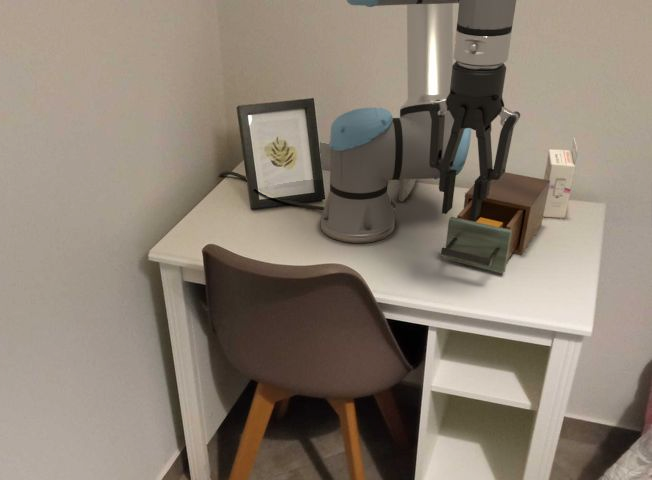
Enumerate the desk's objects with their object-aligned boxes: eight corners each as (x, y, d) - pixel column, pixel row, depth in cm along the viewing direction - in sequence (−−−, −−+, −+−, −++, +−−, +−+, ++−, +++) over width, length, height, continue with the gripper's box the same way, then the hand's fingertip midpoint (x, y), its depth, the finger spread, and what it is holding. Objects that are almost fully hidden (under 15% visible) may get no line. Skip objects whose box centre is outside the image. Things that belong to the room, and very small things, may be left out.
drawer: (492, 289, 125) (499, 247, 120) (431, 273, 130) (436, 232, 125) (523, 244, 138) (530, 205, 133) (467, 231, 142) (472, 193, 137)
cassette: (404, 202, 156) (407, 169, 151) (396, 201, 157) (398, 168, 152) (417, 181, 165) (419, 149, 160) (409, 180, 166) (411, 148, 161)
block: (477, 240, 137) (480, 217, 134) (499, 246, 135) (503, 222, 132) (468, 250, 134) (471, 226, 131) (490, 256, 132) (494, 232, 129)
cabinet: (521, 255, 136) (530, 207, 130) (459, 240, 141) (465, 193, 135) (541, 226, 146) (550, 180, 140) (481, 214, 151) (488, 168, 145)
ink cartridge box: (538, 199, 156) (550, 134, 147) (561, 201, 155) (575, 135, 146) (540, 217, 149) (554, 149, 140) (565, 218, 148) (580, 150, 139)
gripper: (413, 61, 101) (402, 211, 115) (532, 77, 94) (505, 235, 108) (433, 49, 106) (420, 194, 120) (547, 63, 99) (519, 215, 113)
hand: (460, 213), depth 114 cm, fingers open, 4 cm apart
